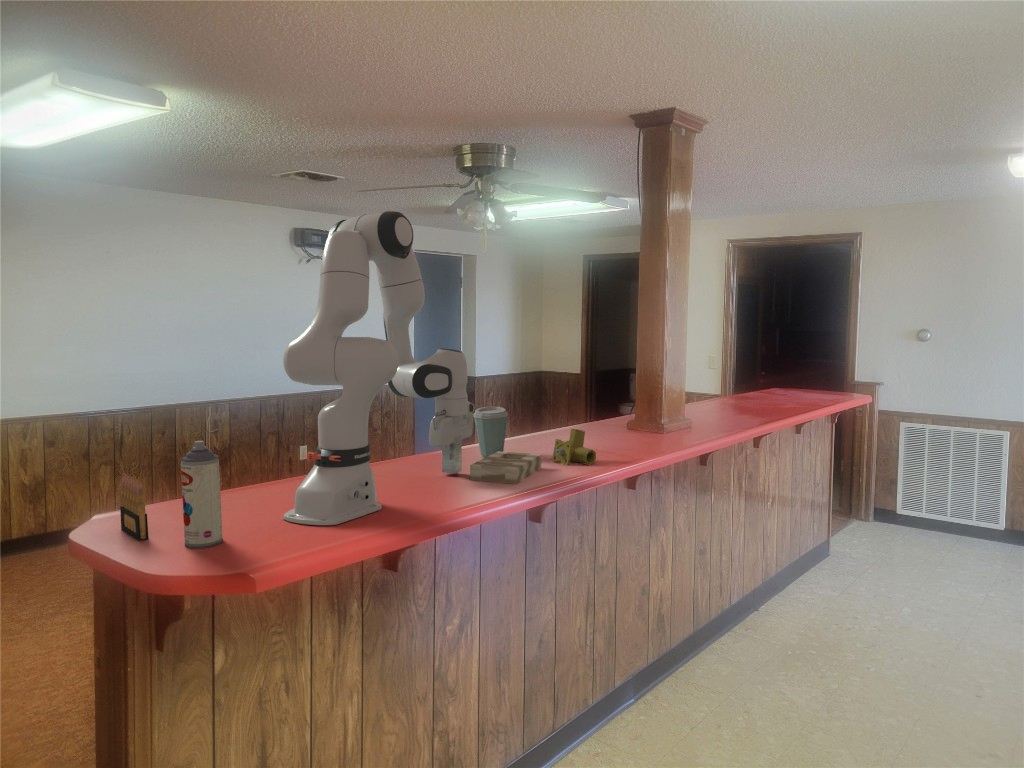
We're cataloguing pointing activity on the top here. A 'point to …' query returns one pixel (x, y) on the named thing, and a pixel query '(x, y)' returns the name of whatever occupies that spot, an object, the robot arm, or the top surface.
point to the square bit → (454, 457)
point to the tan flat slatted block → (505, 467)
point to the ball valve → (573, 449)
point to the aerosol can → (201, 497)
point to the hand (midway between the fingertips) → (451, 458)
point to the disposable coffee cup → (490, 429)
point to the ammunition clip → (133, 509)
